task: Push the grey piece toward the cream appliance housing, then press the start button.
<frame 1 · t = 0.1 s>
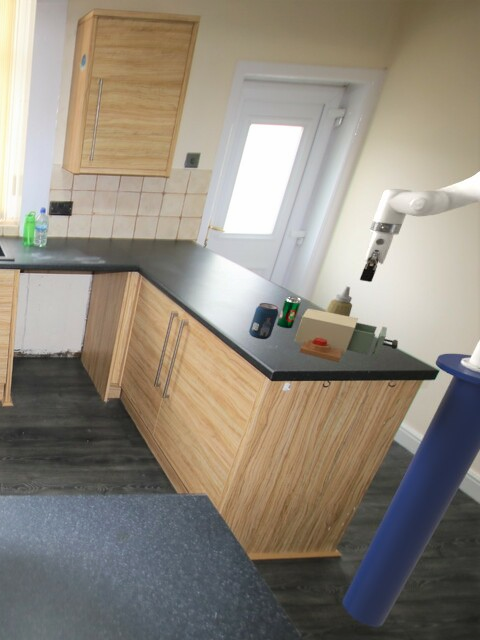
hand: (366, 278, 163), 23 cm above the counter, tool pointing down, fingers open, 9 cm apart
grey piece: (363, 338, 160), point 5 cm above the counter, slide at 7.0 cm
start button: (320, 342, 159), point 4 cm above the counter, slide at 0.1 cm
soda can 2: (258, 336, 172), on the counter
squeeze bottle: (329, 332, 179), on the counter
soda can: (283, 327, 182), on the counter
cream appliance housing: (321, 343, 169), on the counter
control block: (319, 353, 160), on the counter
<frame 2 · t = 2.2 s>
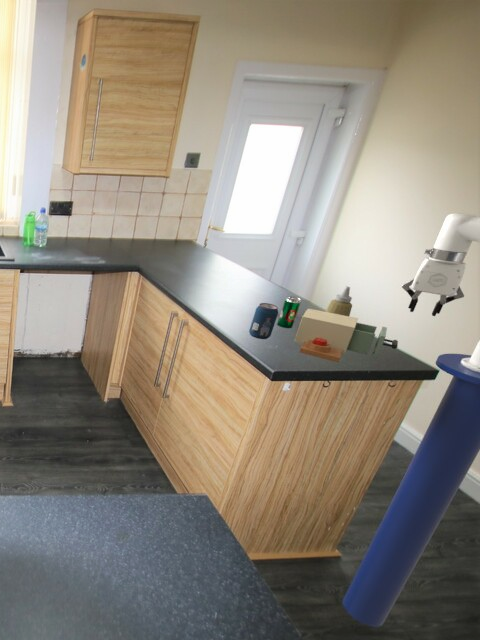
hand: (422, 312, 149), 17 cm above the counter, tool pointing down, fingers open, 4 cm apart
nothing on the counter moved.
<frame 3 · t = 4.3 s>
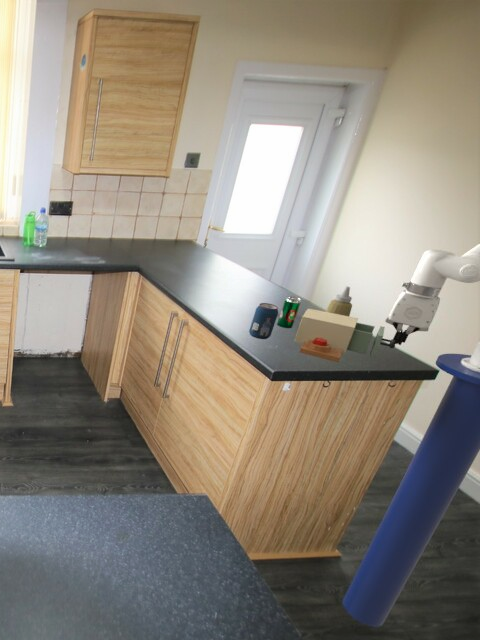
hand: (397, 343, 155), 6 cm above the counter, tool pointing down, fingers closed
grey piece: (361, 338, 161), point 5 cm above the counter, slide at 6.4 cm, touching gripper
everything else where it was.
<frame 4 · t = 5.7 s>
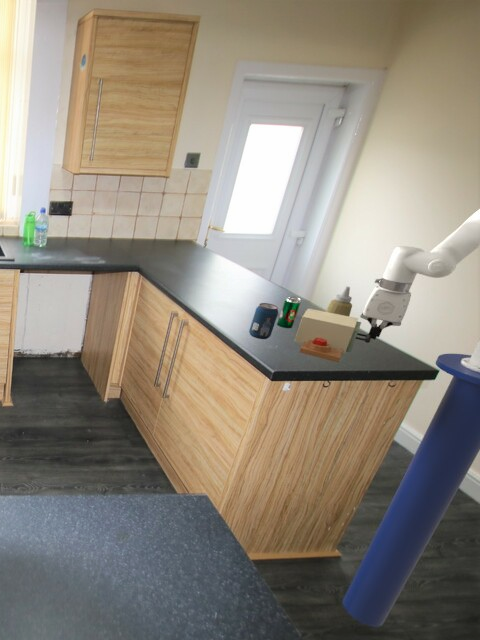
hand: (372, 337, 159), 6 cm above the counter, tool pointing down, fingers closed
grey piece: (338, 333, 164), point 5 cm above the counter, slide at 0.0 cm, touching cream appliance housing, gripper
everything else where it was.
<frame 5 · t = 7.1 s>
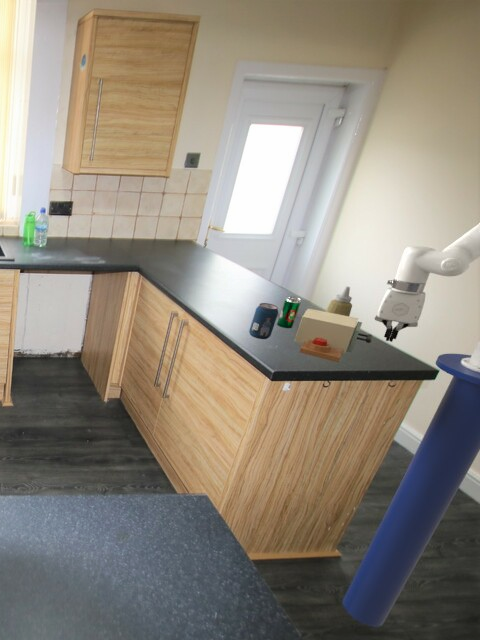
hand: (389, 340, 156), 6 cm above the counter, tool pointing down, fingers closed
grey piece: (339, 333, 164), point 5 cm above the counter, slide at 0.3 cm
everything else where it was.
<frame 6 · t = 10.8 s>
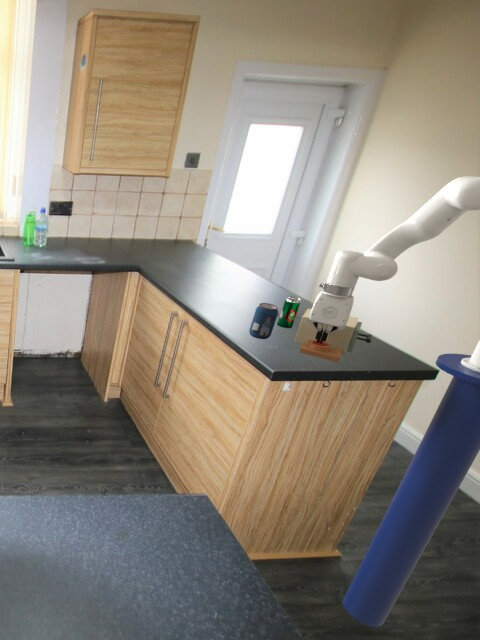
hand: (319, 342, 159), 4 cm above the counter, tool pointing down, fingers closed
start button: (319, 344, 159), point 3 cm above the counter, slide at -0.8 cm, touching gripper
everything else where it was.
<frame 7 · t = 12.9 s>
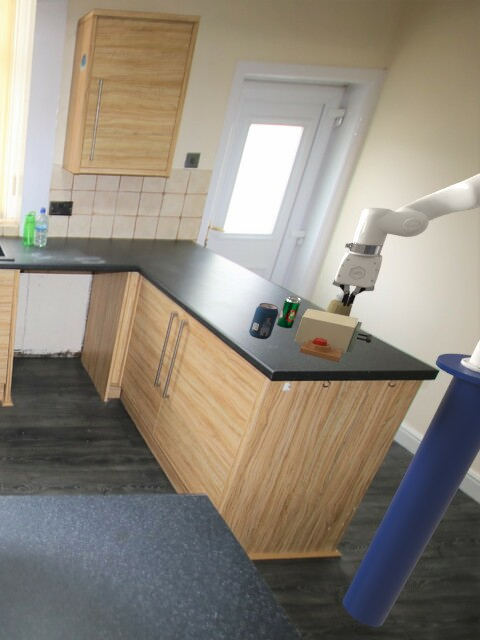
hand: (346, 305, 153), 17 cm above the counter, tool pointing down, fingers closed
start button: (320, 342, 159), point 4 cm above the counter, slide at 0.1 cm
everything else where it was.
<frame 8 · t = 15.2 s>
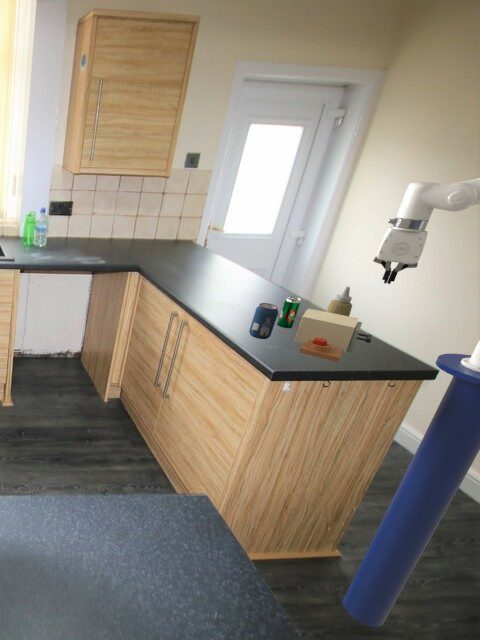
hand: (387, 282, 151), 25 cm above the counter, tool pointing down, fingers closed
nothing on the counter moved.
at the end: grey piece slide at 0.3 cm; start button pushed in 1.1 cm at the most during the clip, back to where it started at the end; start button slide at 0.1 cm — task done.
